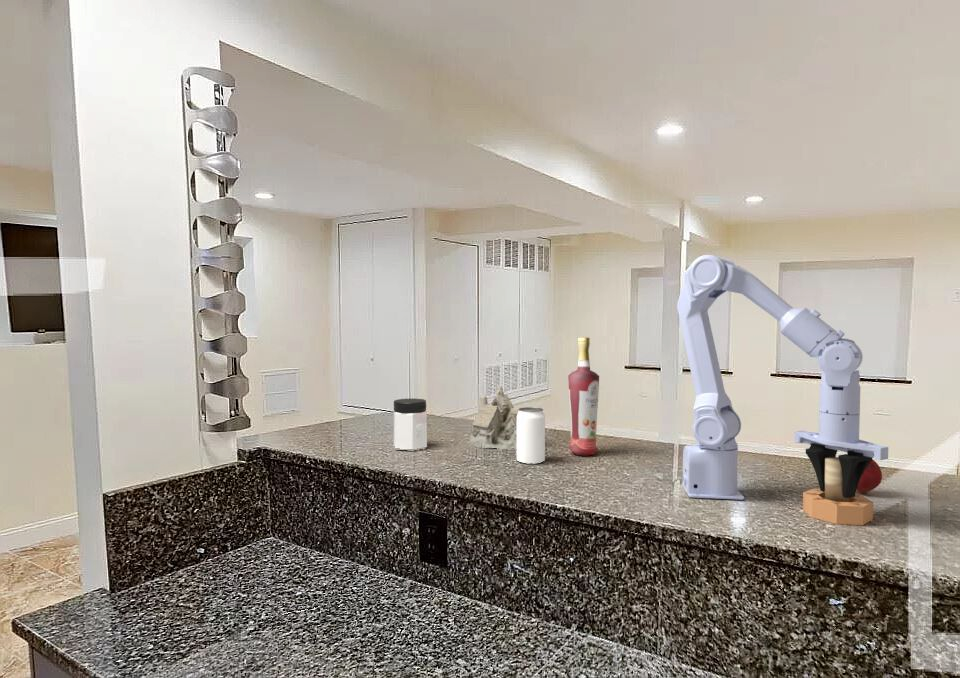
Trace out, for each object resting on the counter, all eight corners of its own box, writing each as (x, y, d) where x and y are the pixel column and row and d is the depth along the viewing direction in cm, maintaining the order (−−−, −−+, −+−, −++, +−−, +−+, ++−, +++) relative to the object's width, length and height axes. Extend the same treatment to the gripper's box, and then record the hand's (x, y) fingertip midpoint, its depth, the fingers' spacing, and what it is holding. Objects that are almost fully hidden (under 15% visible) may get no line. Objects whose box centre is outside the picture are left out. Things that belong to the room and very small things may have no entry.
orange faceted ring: (818, 523, 94) (818, 504, 94) (796, 504, 103) (797, 487, 103) (881, 526, 93) (881, 507, 92) (853, 507, 102) (854, 490, 102)
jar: (405, 453, 142) (405, 404, 142) (386, 448, 148) (385, 400, 147) (434, 447, 148) (434, 400, 148) (414, 442, 154) (414, 397, 154)
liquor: (584, 459, 136) (585, 338, 135) (561, 453, 142) (562, 337, 141) (605, 454, 141) (606, 337, 140) (581, 449, 146) (582, 336, 145)
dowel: (830, 510, 96) (830, 462, 96) (821, 503, 100) (821, 456, 99) (852, 510, 96) (852, 462, 95) (843, 503, 99) (843, 457, 99)
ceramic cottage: (459, 443, 153) (463, 386, 152) (507, 437, 163) (511, 384, 162) (497, 458, 141) (502, 396, 140) (547, 451, 151) (551, 393, 150)
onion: (887, 499, 106) (888, 455, 106) (852, 497, 107) (853, 454, 107) (872, 490, 112) (874, 448, 112) (839, 488, 113) (840, 447, 113)
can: (512, 463, 133) (512, 410, 132) (521, 456, 139) (521, 406, 138) (540, 466, 130) (540, 412, 130) (548, 459, 136) (548, 407, 136)
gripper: (900, 417, 92) (898, 502, 93) (813, 404, 105) (811, 479, 106) (873, 420, 89) (871, 509, 90) (787, 407, 102) (785, 484, 103)
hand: (837, 493), depth 98 cm, fingers closed on dowel, 3 cm apart
